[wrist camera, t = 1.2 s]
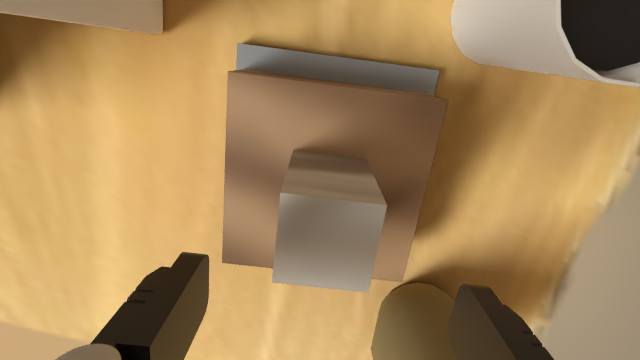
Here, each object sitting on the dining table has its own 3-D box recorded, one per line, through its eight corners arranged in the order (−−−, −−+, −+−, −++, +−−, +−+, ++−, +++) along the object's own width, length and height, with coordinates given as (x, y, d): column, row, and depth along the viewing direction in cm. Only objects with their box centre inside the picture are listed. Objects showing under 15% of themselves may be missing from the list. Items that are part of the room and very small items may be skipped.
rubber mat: (240, 43, 20) (237, 43, 19) (435, 70, 21) (439, 70, 20) (232, 244, 25) (229, 250, 24) (390, 262, 25) (392, 268, 25)
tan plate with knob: (243, 69, 20) (179, 78, 11) (427, 93, 20) (511, 121, 11) (235, 234, 24) (184, 341, 15) (391, 251, 24) (432, 365, 15)
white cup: (445, -48, 18) (575, -157, 9) (568, -58, 18) (829, -180, 9) (439, 77, 21) (538, 94, 11) (548, 69, 21) (740, 79, 11)
